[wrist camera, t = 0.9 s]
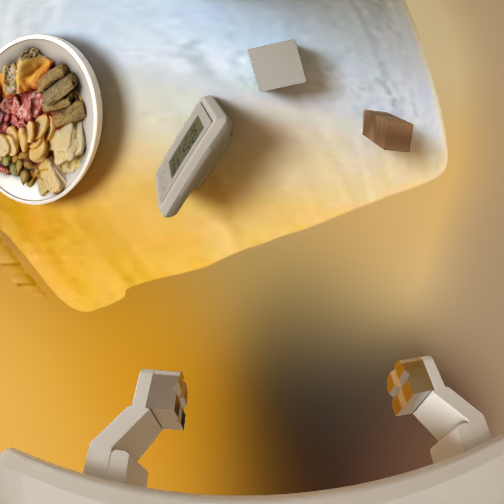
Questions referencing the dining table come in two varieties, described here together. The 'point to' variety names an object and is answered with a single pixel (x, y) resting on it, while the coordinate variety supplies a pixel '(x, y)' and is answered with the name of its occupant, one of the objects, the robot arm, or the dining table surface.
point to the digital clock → (192, 154)
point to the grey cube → (276, 65)
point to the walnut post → (387, 130)
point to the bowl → (46, 118)
